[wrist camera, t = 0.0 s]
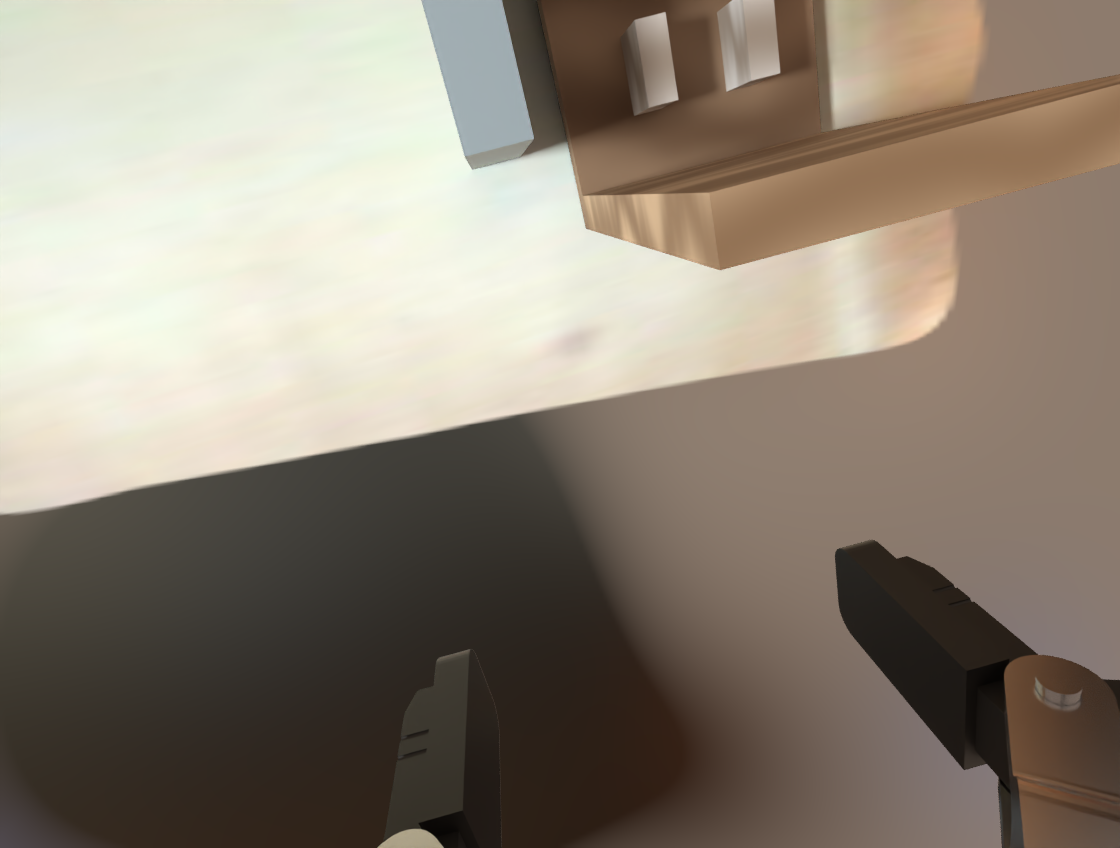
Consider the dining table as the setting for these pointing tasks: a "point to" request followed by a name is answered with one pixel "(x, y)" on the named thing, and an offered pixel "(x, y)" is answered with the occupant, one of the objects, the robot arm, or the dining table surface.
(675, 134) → the hinge base
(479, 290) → the dining table surface
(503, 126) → the door
